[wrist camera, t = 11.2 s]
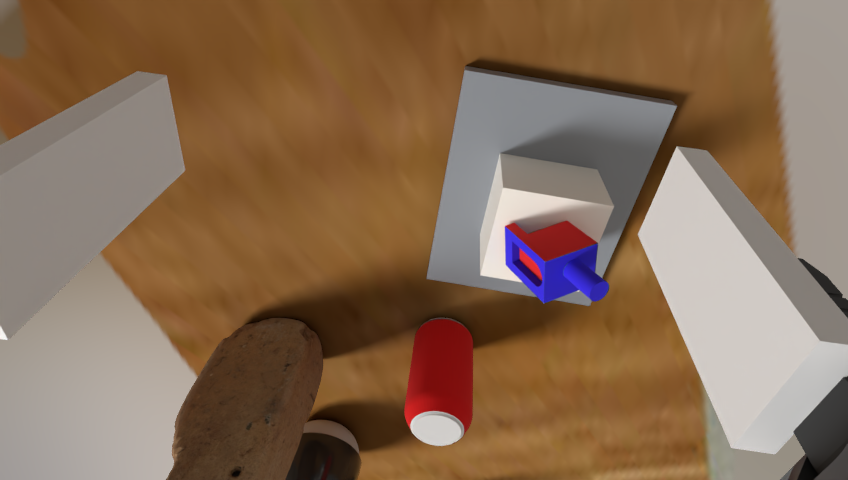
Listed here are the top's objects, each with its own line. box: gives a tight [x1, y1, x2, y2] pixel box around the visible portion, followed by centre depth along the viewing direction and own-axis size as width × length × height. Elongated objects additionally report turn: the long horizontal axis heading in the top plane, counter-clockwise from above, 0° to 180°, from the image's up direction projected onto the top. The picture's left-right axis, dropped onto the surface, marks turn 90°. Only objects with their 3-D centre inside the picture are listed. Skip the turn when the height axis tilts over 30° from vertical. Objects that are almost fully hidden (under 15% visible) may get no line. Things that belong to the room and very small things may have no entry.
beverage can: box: [404, 318, 473, 446], centre depth 49 cm, size 6×6×12 cm
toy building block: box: [505, 221, 609, 303], centre depth 35 cm, size 4×4×8 cm
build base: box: [427, 66, 677, 306], centre depth 41 cm, size 20×16×7 cm
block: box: [166, 318, 323, 480], centre depth 48 cm, size 11×8×20 cm
